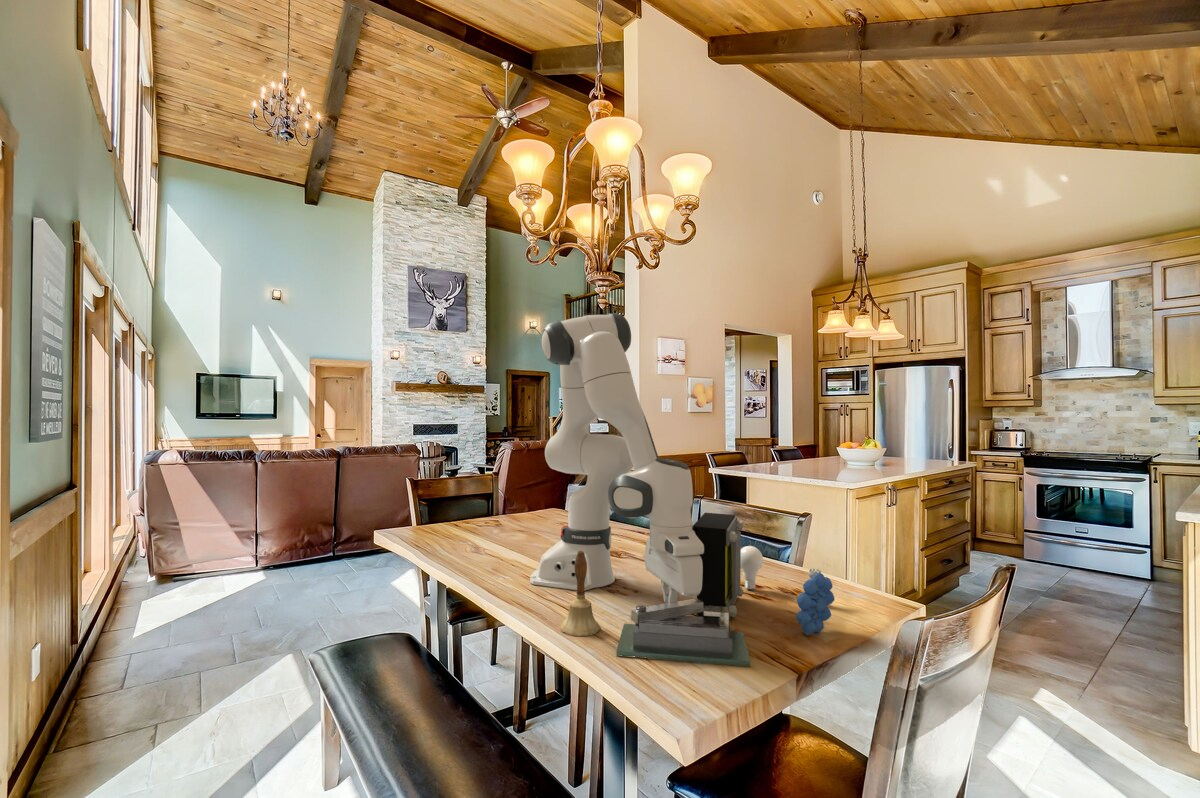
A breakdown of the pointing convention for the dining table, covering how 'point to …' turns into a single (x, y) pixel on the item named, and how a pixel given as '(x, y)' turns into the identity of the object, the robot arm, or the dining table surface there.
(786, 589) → the dining table surface
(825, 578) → the grapes
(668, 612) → the grey metal bar
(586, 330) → the robot arm
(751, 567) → the lightbulb
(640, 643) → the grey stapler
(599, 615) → the dining table surface
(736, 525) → the electrical component
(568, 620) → the hand bell
